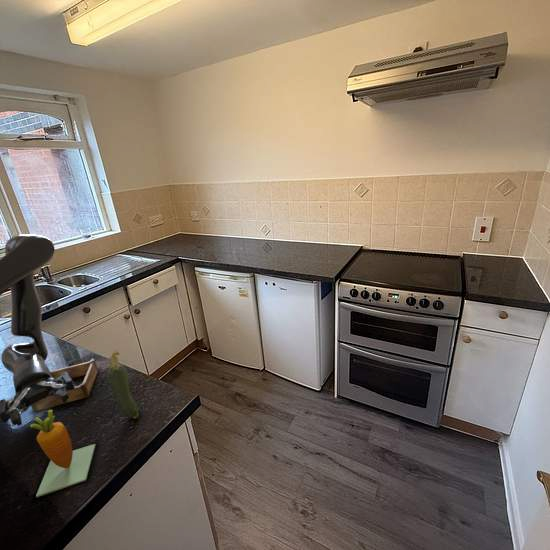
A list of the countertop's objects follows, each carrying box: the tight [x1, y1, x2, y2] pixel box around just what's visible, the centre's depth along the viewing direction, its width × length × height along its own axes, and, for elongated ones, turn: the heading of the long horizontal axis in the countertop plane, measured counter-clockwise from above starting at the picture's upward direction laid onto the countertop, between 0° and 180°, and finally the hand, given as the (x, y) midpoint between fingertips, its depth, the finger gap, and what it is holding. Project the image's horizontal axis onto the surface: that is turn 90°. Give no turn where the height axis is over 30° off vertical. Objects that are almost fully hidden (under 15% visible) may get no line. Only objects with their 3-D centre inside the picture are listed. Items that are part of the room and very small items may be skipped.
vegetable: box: [106, 350, 139, 420], centre depth 74 cm, size 4×4×20 cm
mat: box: [35, 443, 96, 498], centre depth 65 cm, size 9×9×1 cm
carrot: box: [29, 409, 74, 468], centre depth 62 cm, size 5×5×15 cm
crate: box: [30, 358, 99, 413], centre depth 89 cm, size 14×13×4 cm
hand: (42, 410), depth 67 cm, fingers open, 8 cm apart
